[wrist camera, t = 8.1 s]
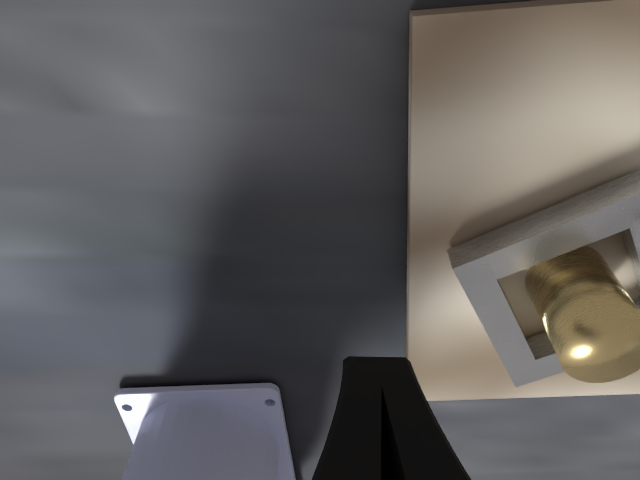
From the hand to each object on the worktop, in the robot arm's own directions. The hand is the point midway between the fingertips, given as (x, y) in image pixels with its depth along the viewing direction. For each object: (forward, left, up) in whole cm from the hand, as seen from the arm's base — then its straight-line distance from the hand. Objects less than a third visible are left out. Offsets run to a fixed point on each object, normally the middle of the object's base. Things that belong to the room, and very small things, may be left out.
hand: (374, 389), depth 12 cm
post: (-4, -8, -9) cm, 13 cm away
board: (-3, -10, -10) cm, 14 cm away
